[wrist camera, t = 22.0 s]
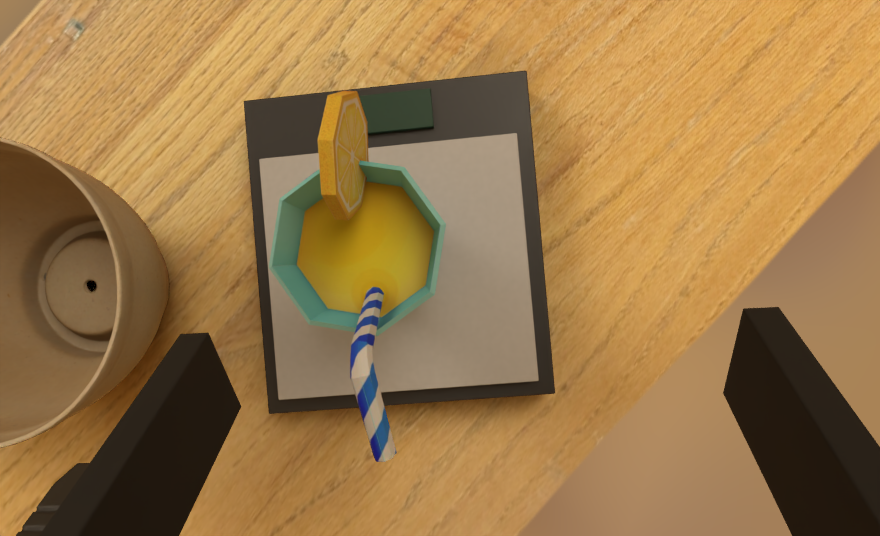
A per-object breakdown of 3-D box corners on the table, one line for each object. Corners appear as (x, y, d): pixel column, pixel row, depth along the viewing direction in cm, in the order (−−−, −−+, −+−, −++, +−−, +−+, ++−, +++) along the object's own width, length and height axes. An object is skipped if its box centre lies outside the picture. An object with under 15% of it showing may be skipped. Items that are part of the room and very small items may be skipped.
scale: (522, 86, 37) (527, 65, 33) (548, 383, 37) (557, 396, 33) (261, 114, 38) (237, 96, 34) (284, 403, 38) (263, 417, 34)
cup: (485, 366, 33) (494, 443, 18) (362, 394, 34) (271, 492, 19) (431, 142, 34) (396, 37, 19) (310, 173, 34) (179, 95, 19)
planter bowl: (56, 439, 39) (-106, 504, 28) (-37, 234, 39) (-231, 220, 29) (257, 341, 38) (170, 369, 27) (159, 133, 39) (36, 78, 28)
